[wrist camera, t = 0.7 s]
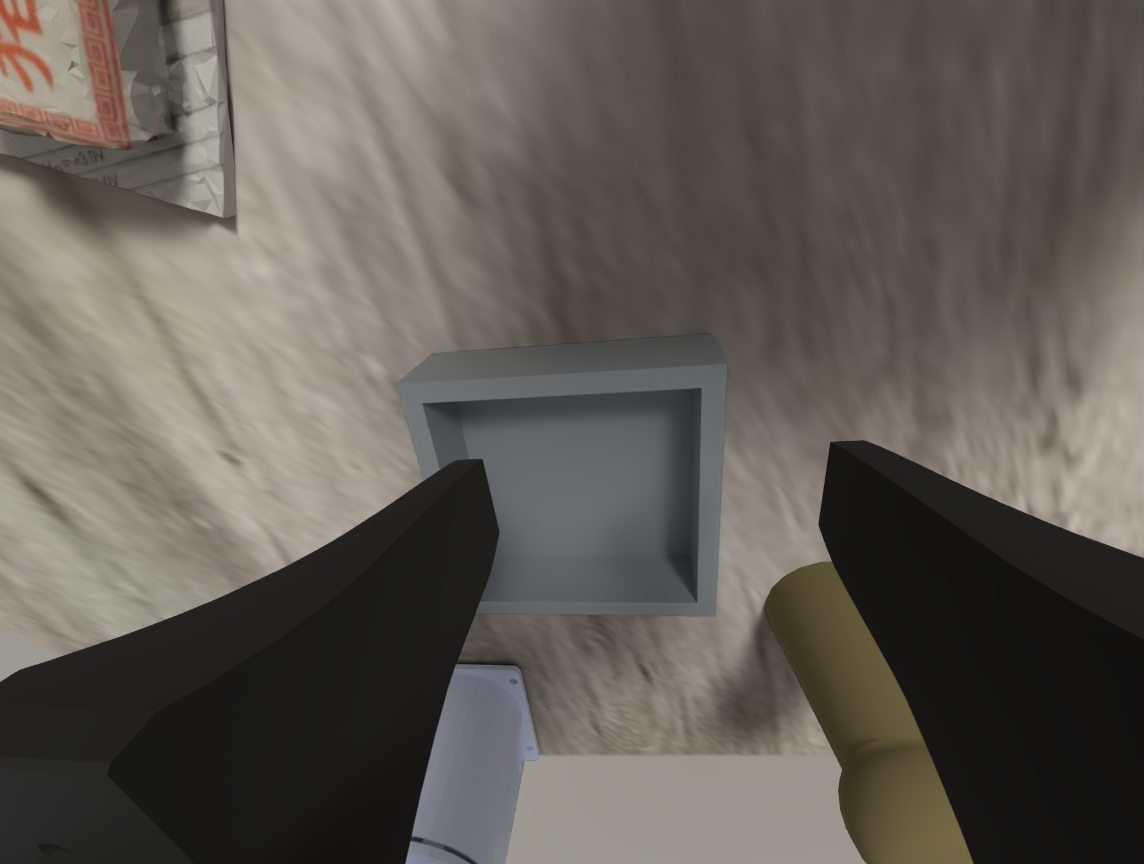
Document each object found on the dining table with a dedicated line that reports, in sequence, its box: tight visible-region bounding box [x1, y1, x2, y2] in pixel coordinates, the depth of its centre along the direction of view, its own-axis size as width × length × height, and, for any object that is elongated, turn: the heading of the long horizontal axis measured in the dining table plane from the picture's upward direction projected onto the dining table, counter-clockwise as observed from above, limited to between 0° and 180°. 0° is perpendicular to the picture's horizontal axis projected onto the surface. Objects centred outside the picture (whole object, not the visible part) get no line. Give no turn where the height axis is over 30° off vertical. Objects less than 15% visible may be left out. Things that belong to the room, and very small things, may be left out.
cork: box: [766, 562, 973, 864], centre depth 20 cm, size 6×6×11 cm
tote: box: [396, 334, 727, 617], centre depth 20 cm, size 12×12×4 cm
